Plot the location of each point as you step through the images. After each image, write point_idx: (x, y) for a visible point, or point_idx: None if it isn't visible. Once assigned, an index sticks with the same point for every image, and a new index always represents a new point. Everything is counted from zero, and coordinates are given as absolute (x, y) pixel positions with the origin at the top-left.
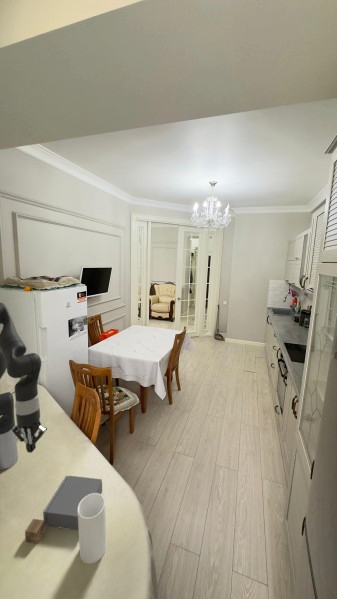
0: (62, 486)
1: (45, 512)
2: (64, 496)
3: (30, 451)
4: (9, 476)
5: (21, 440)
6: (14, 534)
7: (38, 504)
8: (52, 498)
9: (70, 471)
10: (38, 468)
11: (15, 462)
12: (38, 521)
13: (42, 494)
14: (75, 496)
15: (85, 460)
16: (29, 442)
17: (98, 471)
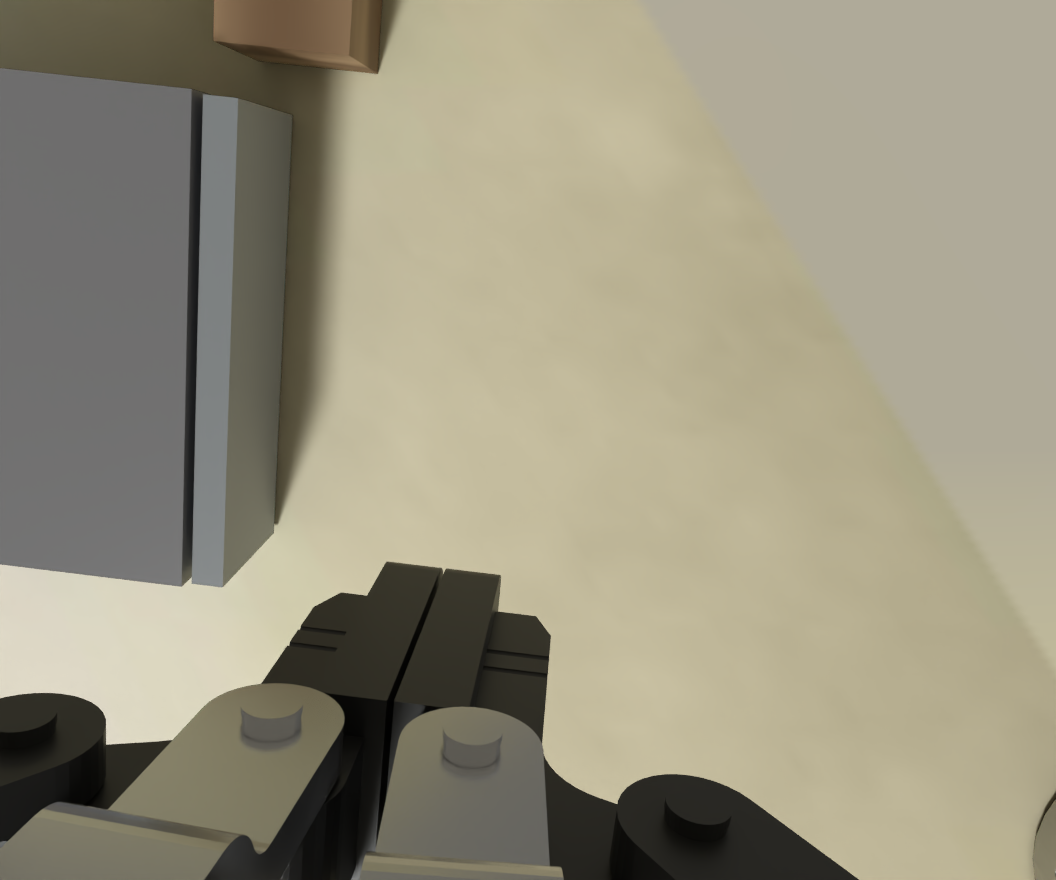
0: (181, 434)
1: (211, 97)
2: (83, 299)
3: (390, 571)
4: (1004, 665)
5: (682, 805)
6: (548, 12)
7: (478, 335)
8: (218, 272)
9: None
10: (718, 762)
11: (1038, 840)
12: (267, 24)
13: (497, 449)
14: None
15: None
16: (306, 730)
17: None
